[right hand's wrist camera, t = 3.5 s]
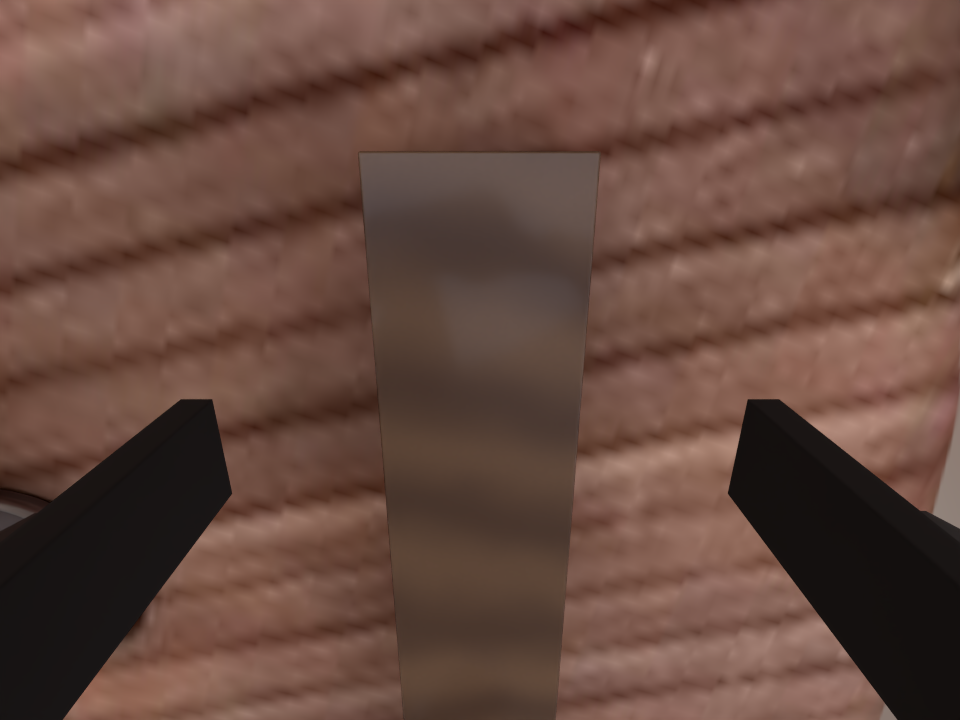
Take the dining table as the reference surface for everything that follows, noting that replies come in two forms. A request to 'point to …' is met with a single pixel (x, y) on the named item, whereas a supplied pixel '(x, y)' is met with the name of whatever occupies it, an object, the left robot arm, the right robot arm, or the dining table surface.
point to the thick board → (479, 413)
